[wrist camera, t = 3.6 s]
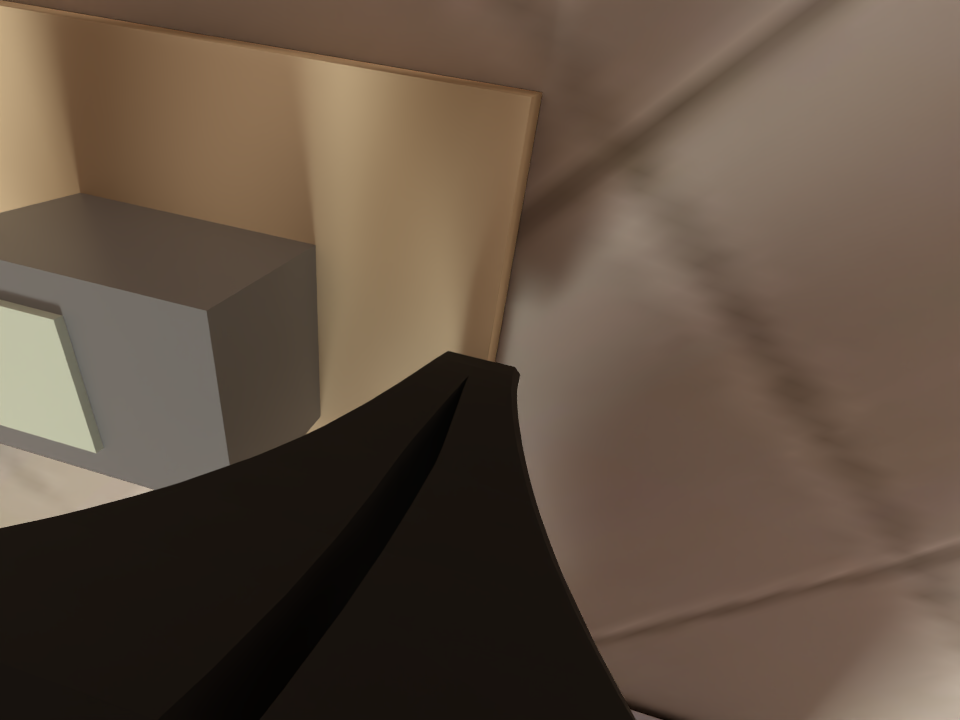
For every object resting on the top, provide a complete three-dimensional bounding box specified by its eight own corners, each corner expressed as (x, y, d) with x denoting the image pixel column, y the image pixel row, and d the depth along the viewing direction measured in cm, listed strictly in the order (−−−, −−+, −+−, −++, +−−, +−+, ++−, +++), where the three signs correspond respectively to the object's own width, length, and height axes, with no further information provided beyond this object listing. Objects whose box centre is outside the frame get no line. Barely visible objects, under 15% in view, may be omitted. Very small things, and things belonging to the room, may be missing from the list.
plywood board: (542, 92, 9) (531, 97, 8) (468, 513, 14) (456, 549, 13) (-439, -76, 12) (-540, -88, 11) (-198, 325, 17) (-251, 342, 16)
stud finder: (315, 244, 10) (198, 315, 7) (320, 416, 12) (231, 520, 9) (80, 192, 10) (-107, 239, 8) (123, 364, 12) (-13, 446, 10)
